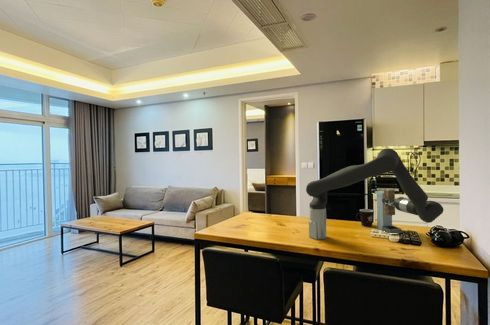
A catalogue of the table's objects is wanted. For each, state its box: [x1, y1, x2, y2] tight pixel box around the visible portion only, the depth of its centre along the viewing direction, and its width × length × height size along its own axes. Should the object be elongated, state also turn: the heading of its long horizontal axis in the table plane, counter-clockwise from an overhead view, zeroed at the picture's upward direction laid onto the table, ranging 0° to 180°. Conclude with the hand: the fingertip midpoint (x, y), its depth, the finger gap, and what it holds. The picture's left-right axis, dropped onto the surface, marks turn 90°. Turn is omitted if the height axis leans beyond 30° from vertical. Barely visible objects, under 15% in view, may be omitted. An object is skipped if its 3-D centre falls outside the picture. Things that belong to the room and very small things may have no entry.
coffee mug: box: [355, 208, 375, 228], centre depth 177 cm, size 12×9×10 cm
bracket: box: [381, 224, 403, 234], centre depth 160 cm, size 8×7×3 cm
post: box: [374, 190, 393, 231], centre depth 166 cm, size 7×7×24 cm
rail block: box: [383, 187, 396, 216], centre depth 156 cm, size 4×4×15 cm
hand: (386, 200), depth 158 cm, fingers closed on rail block, 4 cm apart
